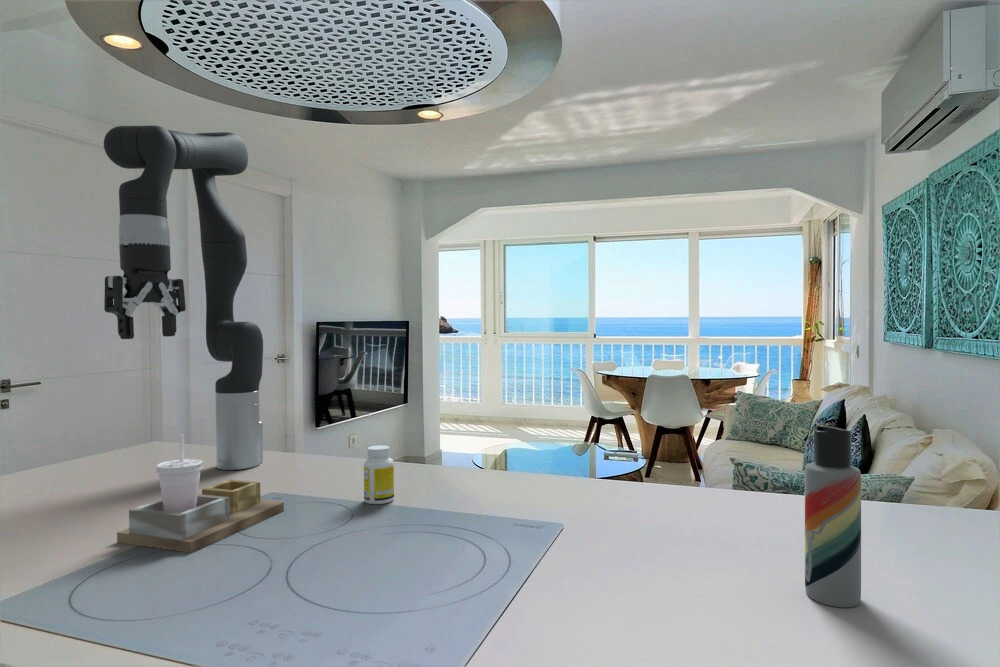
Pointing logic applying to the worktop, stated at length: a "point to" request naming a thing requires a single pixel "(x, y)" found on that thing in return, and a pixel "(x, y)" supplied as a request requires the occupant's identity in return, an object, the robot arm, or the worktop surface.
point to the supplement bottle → (378, 476)
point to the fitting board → (199, 518)
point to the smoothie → (179, 482)
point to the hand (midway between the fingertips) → (148, 337)
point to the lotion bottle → (833, 521)
